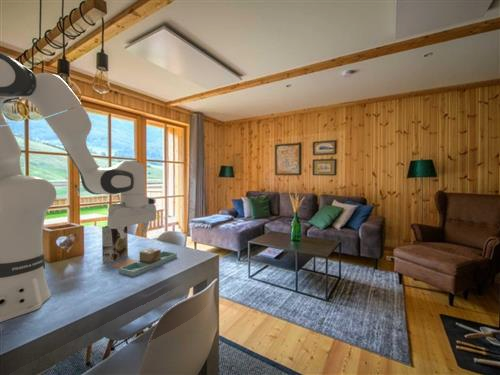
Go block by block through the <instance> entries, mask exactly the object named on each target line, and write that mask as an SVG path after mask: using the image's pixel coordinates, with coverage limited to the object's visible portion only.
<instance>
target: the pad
mask: <svg viewBox="0 0 500 375" xmlns="http://www.w3.org/2000/svg"><path fill="white" fill-rule="evenodd" d="M137 261H139V260H137V259H133V258H132V259H131V258H129V259H125V260H123V261H120V262H117V263H115V264H112V265H111V267H113V268H117V269H119V268H121V267H124V266H126V265H129V264H131V263H134V262H137Z"/></svg>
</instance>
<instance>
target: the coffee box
mask: <svg viewBox="0 0 500 375" xmlns="http://www.w3.org/2000/svg"><path fill="white" fill-rule="evenodd" d="M123 231H124V233H127V234H128V226H126V227H124V230H123ZM101 237H102V238H101V239H102V240H101V242H102V244H101V245H102V247H101V248H102V256H101V257H102V263H109V262H110V263H115V262H118V261H119V260H121V259H123V258H126V257H128V255H129V253H128V252H129V251H128V250H129V248H128V247H129V246H128V242H129V241H128V236H127V238H124V239H121V238H120V233H119V232H118V230H117V229H111V228H109V227H108V226H107V225H106V226H102V227H101Z"/></svg>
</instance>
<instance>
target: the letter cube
mask: <svg viewBox="0 0 500 375" xmlns="http://www.w3.org/2000/svg"><path fill="white" fill-rule="evenodd" d="M161 252H162V251H161V249H159V248H153V247H152V248H147V249H143V250H142V251H139V260H140V262H142V263H147V264H151V263H154V262H156V261H158V260H161Z"/></svg>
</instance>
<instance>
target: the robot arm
mask: <svg viewBox="0 0 500 375" xmlns="http://www.w3.org/2000/svg"><path fill="white" fill-rule="evenodd" d="M19 98H22V99H25V100H27V101H29V102H30V103H32V104H33V105H34V107H35V108H36V109H37V110H38V111H39V113H40V115H41V116H42V117H43V118H44V120H45V122H46V123H47V124H48V126H49V127H50V128H51V130H52V131H53V133H54V134H55V136H56V138H58V140H59V141H60V142H61V145H62V147H63V148H64V150H65V151H66V153H67V155H68V156H69V158H70V160H71V161H72V163H73V164H74V166H75V168H76V169H77V171H78V173H79V175H80V180H81V185H82V187H83V189H84V190H85V191H87V192H88V193H90V194H92V195H111V196H112V195H119V194H120V202H118V203H117V202H115V203H112V204H110V206H109V207H108V210H107V211H108V215H107V223H106V224H107V225H106V226H108V227H109V228H111V229H117V230H118V232H119V233H120V238H121V239H124V238H127V237H128V232H127V233H124V231H123V230H124V227H126V226H127V227H130V226H135V225H139V224H142V225H143V226H142V227H141V229H140V233H141V234H147V231H148V227H149V225H150V222H154V221H156V219H157V207H156V203H157V202H156V201H157V200H156V199H155V198H152V197H148V196H146V190H145V185H146V172H145V167H144V165H143V163H142V162H140V161H136V160H131V159H124V160H122V161H121V162H120V163H118V164H116V165H113V166H111V167H107V168H103V167H100V165H98V164H97V162H96V160H95V158H94V157H93V156H94V155H93V154H92V153H91V150H89V148H88V145H87V138H88V136H89V134H90V132H91V130H92V121H91V118H90V116H89V114H88V112H87V110H86V109H85V107H84V105H83V104H82V103H81V101H80V99H79V98H78V96H77V95H76V93H75V92H74V91H73V90H72V88H71V87H70V86H69V85H68V83H66V82H65V81H64V79H63V78H62V77H60V76H59V75H57V74H54V73H51V72H41V73H40V72H39V73H34V72H33V71H32V70H31V69H29V68H28V67H26V66H25V65H23V64H22V63H20V62H19V61H18V60H16V59H14V58H13V57H11V56H9V55H7V54H5V53H3V52H1V51H0V323H2V322H5V321H8V320H10V319H14V318H16V317H19V316H22V315H25V314H27V313H28V314H29V313H31V312H33V311H37V310H39V309H40V308H41V307H42V306H43V304H44V303H45V302H46V301H48V300H49V299H50V297H51V296H52V294H51V290H50V289H49V287H48V283H47V279H46V275H45V269H46V257H45V253H44V252H43V229H44V223H45V220H46V216H47V213H48V210H49V208H51V206H53V205H54V203H55V201H56V200H57V189H56V188H55V186H54V185H53V184H52V183H51V182H50V181H48V180H46V179H44V178H41V177H38V176H36V175H35V176H34V175H24V174H23V171H22V167H21V166H22V165H21V156H22V148H21V146H20V145H19V142H18V140H17V139H16V137H15V134H14V132H13V130H12V128H11V126H10V125H9V122H8V119H7V118H6V115H5V113H4V111H3V110H4V109H3V104H5V103H8V102H11V101H13V100H16V99H19Z"/></svg>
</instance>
